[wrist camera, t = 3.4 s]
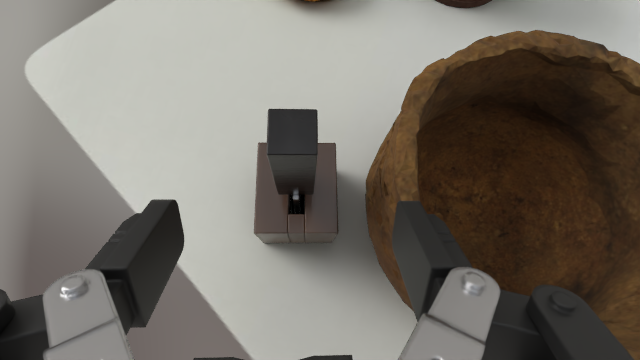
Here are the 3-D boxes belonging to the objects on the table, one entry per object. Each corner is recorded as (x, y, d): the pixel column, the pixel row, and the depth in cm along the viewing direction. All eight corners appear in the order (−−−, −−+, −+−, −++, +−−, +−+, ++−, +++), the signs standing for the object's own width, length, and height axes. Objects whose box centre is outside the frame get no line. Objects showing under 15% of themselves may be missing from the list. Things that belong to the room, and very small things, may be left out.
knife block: (263, 243, 30) (253, 233, 24) (266, 167, 32) (257, 142, 26) (331, 242, 30) (338, 233, 24) (330, 168, 32) (335, 142, 26)
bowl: (437, 96, 35) (530, -33, 21) (592, 227, 32) (829, 180, 17) (306, 223, 31) (307, 169, 16) (469, 390, 27) (651, 507, 13)
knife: (284, 220, 31) (266, 160, 16) (285, 188, 31) (268, 102, 17) (311, 220, 31) (317, 160, 16) (311, 188, 32) (317, 103, 17)
